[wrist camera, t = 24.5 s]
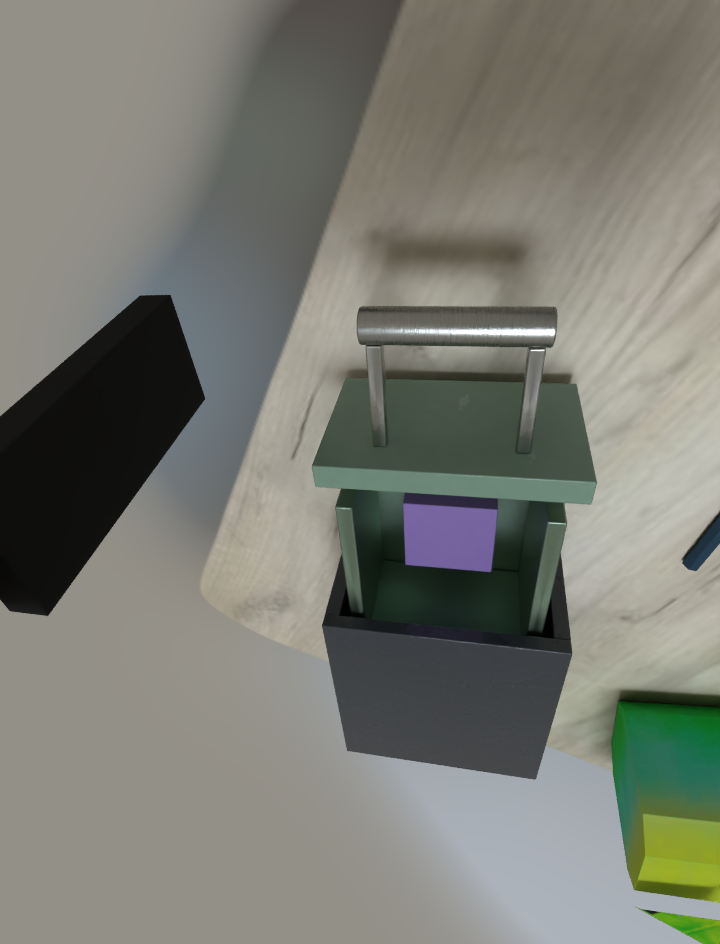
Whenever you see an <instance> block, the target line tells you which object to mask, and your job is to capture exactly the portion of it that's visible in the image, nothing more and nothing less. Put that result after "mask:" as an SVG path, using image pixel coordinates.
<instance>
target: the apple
mask: <svg viewBox="0 0 720 944" xmlns="http://www.w3.org/2000/svg"><path fill="white" fill-rule="evenodd" d="M612 761H613V776H614V783H615V789H616V796H617V803H618V809H619V816H620V822H621V829H622V835H623V843H624V849H625V856H626V863H627V869H628V872H629V875H630V878H631V881H632V885H633V888H634V890H637V891H644V892H650V893H657V894H664V895H671V896H678V897H685V898H692V899H699V900H706V901H712V902H719V903H720V707H706V706H690V705H675V704H659V703H644V702H628V701H618V706H617V712H616V719H615V725H614V731H613V737H612ZM638 909H640V908H638ZM640 910H642V911H644V912H646V913H647V914H649V915H651V916H653V917H655V918H657V919H658V920H660V921H662V922H664V923H666V924H668V925H670V926H671V927H673V928H675V929H677V930H679V931H681V932H682V933H685V934H686V935H688V936H690V937H692V938H693V939H695V940H697V941H699V942H701V943H703V944H720V921H719V920H712V919H705V918H698V917H691V916H684V915H677V914H670V913H663V912H656V911H649V910H643V909H640Z"/></svg>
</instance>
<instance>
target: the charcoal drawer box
mask: <svg viewBox="0 0 720 944" xmlns="http://www.w3.org/2000/svg"><path fill="white" fill-rule="evenodd" d="M322 628H323V633H324V638H325V643H326V648H327V653H328V658H329V663H330V667H331V672H332V677H333V682H334V687H335V692H336V697H337V702H338V707H339V712H340V717H341V722H342V727H343V732H344V737H345V742H346V747H347V751H352V752H359V753H365V754H372V755H379V756H385V757H391V758H398V759H404V760H411V761H417V762H425V763H431V764H438V765H444V766H450V767H457V768H463V769H470V770H476V771H483V772H490V773H496V774H502V775H509V776H515V777H522V778H528V779H536V777H537V773H538V770H539V766H540V763H541V760H542V756H543V753H544V749H545V746H546V743H547V739H548V736H549V732H550V729H551V725H552V722H553V718H554V715H555V712H556V708H557V705H558V701H559V698H560V694H561V691H562V688H563V684H564V681H565V677H566V674H567V670H568V667H569V663H570V660H571V657H572V646H571V637H570V628H569V620H568V611H567V603H566V594H565V586H564V577H563V568H562V560H561V553H560V558H559V562H558V567H557V571H556V576H555V580H554V585H553V589H552V594H551V598H550V603H549V607H548V612H547V616H546V621H545V625H544V630H543V634H542V637H533V636H524V635H515V634H505V633H496V632H487V631H477V630H468V629H459V628H449V627H440V626H431V625H422V624H412V623H403V622H394V621H384V620H375V619H366V618H356V617H351V613H350V606H349V599H348V592H347V585H346V578H345V571H344V564H343V557H342V554H341V558H340V562H339V565H338V569H337V573H336V576H335V580H334V584H333V587H332V591H331V595H330V598H329V602H328V606H327V609H326V613H325V617H324V621H323V624H322Z"/></svg>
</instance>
